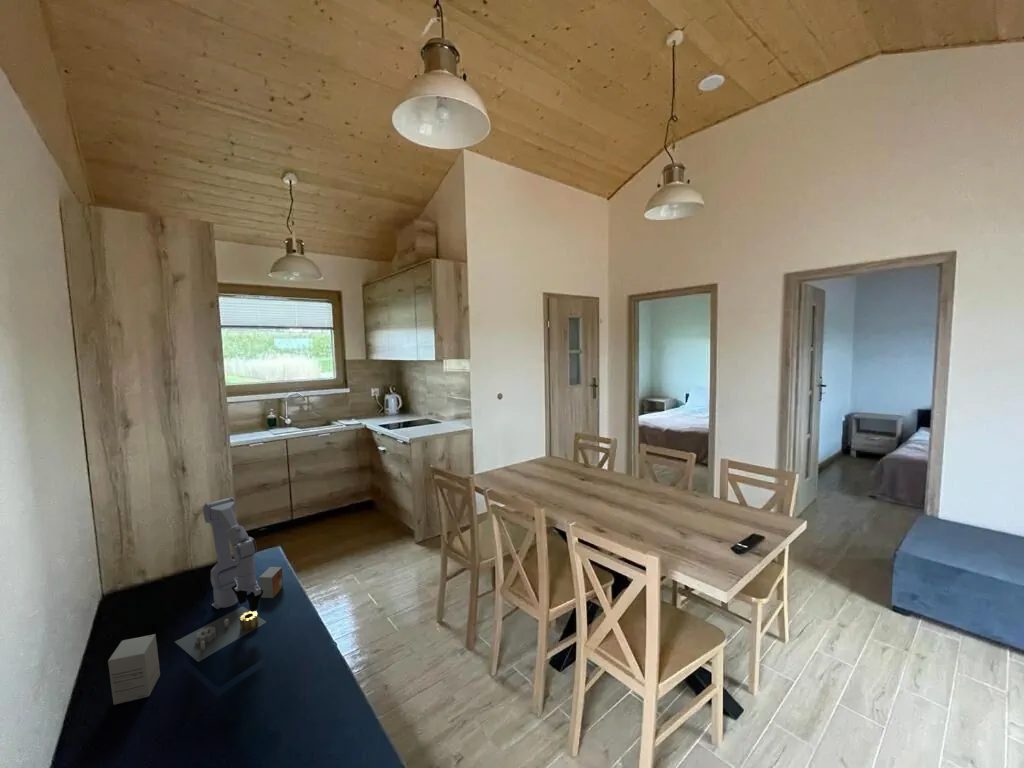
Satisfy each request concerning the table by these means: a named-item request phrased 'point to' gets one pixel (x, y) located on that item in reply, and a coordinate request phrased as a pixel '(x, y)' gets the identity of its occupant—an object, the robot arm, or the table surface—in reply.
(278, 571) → the small box
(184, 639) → the gear board
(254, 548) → the robot arm
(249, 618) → the brass gear
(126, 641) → the supplement box
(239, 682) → the table surface
